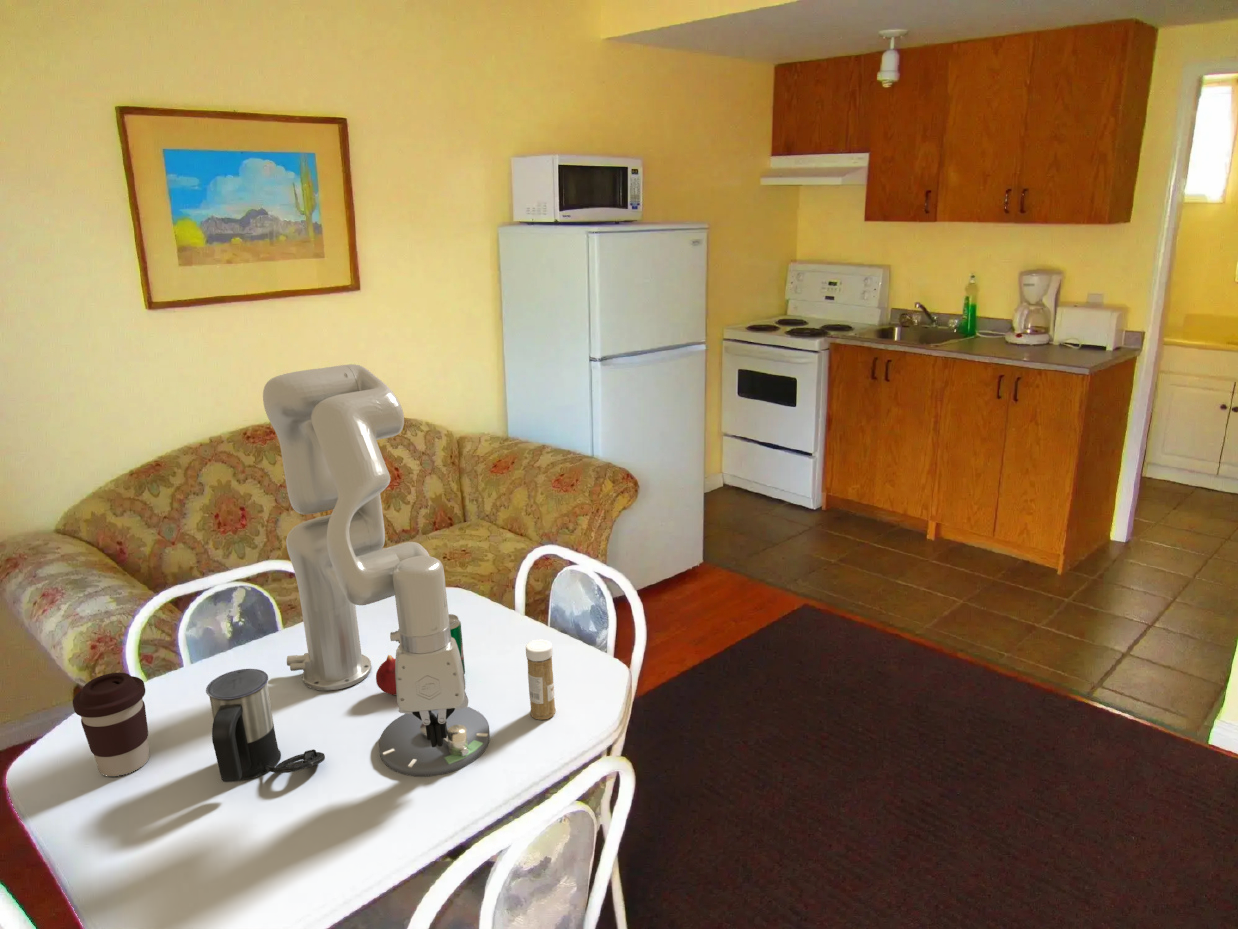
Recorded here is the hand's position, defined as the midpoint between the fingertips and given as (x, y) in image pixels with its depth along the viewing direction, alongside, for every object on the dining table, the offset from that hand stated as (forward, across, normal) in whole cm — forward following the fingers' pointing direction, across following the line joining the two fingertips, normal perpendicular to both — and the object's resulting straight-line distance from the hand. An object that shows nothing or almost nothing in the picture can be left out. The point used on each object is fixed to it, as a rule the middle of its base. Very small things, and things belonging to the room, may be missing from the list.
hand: (438, 741), depth 137 cm
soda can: (+4, -1, +28) cm, 28 cm away
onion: (+4, -11, +23) cm, 25 cm away
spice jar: (+5, +16, +13) cm, 21 cm away
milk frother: (+4, -27, +4) cm, 28 cm away
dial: (+4, -2, +7) cm, 8 cm away
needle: (+2, +1, +4) cm, 5 cm away
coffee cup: (+4, -52, +7) cm, 52 cm away
